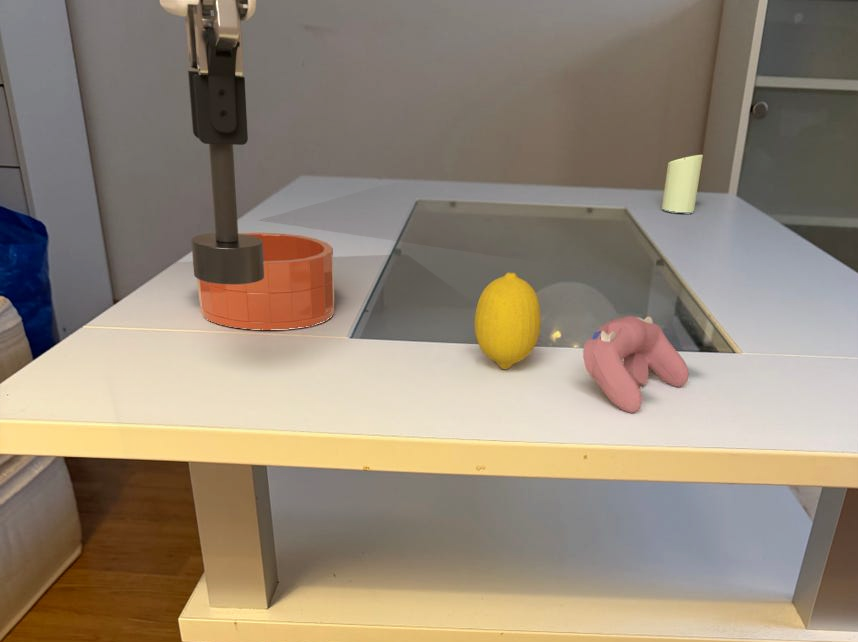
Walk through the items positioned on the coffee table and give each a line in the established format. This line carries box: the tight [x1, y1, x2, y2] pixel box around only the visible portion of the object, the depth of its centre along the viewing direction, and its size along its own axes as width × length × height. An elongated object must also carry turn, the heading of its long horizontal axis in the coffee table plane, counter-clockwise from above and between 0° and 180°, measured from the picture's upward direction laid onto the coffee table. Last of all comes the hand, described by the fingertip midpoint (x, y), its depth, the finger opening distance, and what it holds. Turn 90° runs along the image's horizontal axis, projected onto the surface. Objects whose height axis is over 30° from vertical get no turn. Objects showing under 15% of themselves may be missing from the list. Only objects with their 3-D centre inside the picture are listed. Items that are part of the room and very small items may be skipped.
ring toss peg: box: [190, 144, 264, 285], centre depth 68 cm, size 5×5×14 cm
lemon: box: [474, 272, 542, 370], centre depth 82 cm, size 6×6×8 cm
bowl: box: [196, 232, 335, 330], centre depth 93 cm, size 13×13×6 cm
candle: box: [661, 154, 704, 213], centre depth 151 cm, size 5×5×8 cm
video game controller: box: [582, 315, 689, 414], centre depth 80 cm, size 10×5×7 cm, turn 144°
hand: (220, 139), depth 67 cm, fingers closed on ring toss peg
